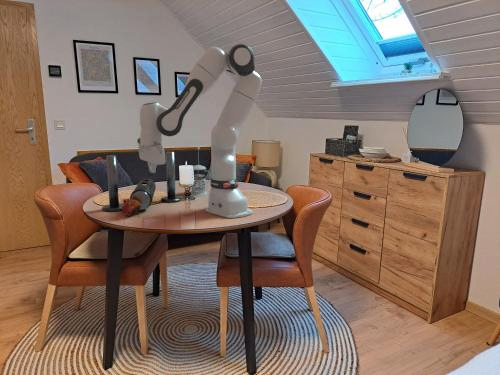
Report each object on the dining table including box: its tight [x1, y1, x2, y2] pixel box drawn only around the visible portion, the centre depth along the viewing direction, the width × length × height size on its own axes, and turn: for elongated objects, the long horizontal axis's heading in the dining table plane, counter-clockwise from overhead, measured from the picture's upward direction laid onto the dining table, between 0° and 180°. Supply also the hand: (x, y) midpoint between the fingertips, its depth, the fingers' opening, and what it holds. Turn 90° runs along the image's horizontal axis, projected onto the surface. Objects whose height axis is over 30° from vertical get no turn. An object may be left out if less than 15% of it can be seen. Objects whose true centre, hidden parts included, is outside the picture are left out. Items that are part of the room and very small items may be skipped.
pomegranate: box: [122, 198, 141, 217], centre depth 152 cm, size 7×7×10 cm
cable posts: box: [102, 151, 183, 213], centre depth 167 cm, size 10×38×24 cm, turn 128°
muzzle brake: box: [129, 177, 157, 211], centre depth 169 cm, size 10×28×10 cm, turn 10°
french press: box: [190, 146, 212, 196], centre depth 193 cm, size 10×12×25 cm
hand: (152, 172), depth 158 cm, fingers closed
